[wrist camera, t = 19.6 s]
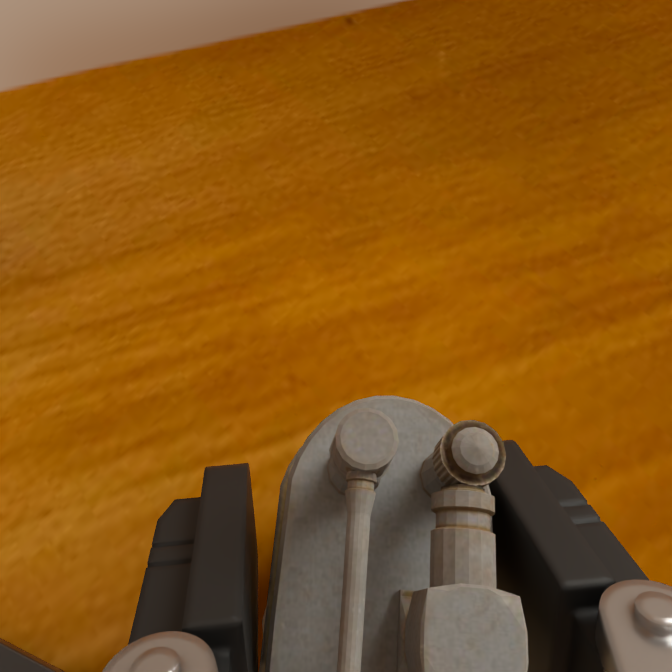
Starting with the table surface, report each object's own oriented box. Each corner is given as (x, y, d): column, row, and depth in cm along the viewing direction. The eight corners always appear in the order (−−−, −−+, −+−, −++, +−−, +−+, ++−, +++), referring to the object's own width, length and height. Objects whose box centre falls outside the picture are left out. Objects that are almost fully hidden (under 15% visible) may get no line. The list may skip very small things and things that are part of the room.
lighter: (409, 806, 15) (593, 1115, 5) (242, 792, 15) (146, 1081, 5) (418, 489, 17) (548, 346, 8) (279, 477, 17) (257, 319, 8)
